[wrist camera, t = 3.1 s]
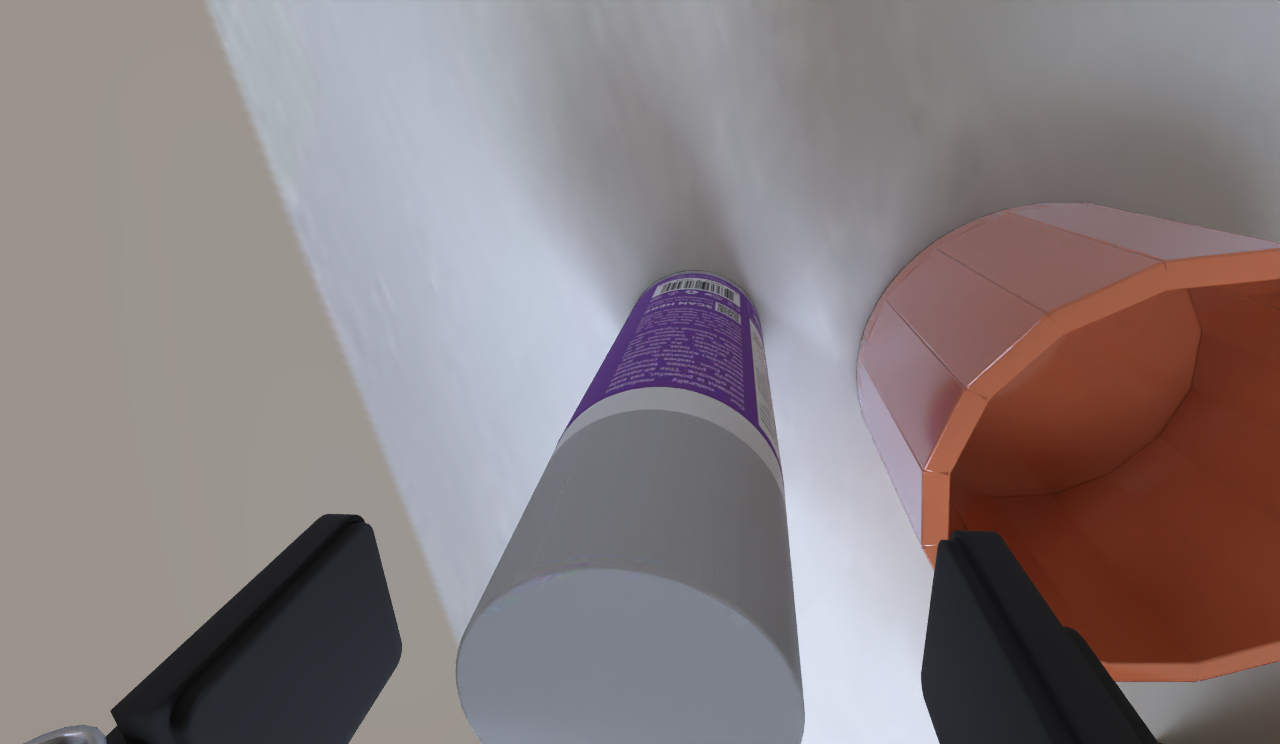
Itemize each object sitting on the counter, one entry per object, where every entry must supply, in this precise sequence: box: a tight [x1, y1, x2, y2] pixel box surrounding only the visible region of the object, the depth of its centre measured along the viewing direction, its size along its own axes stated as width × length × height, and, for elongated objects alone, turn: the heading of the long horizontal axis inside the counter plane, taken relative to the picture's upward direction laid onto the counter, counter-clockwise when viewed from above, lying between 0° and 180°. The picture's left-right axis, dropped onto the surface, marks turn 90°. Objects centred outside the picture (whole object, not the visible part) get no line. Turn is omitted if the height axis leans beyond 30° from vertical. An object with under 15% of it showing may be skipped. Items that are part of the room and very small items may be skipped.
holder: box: [857, 202, 1280, 682], centre depth 17 cm, size 10×10×8 cm
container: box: [456, 271, 805, 744], centre depth 15 cm, size 5×5×15 cm
